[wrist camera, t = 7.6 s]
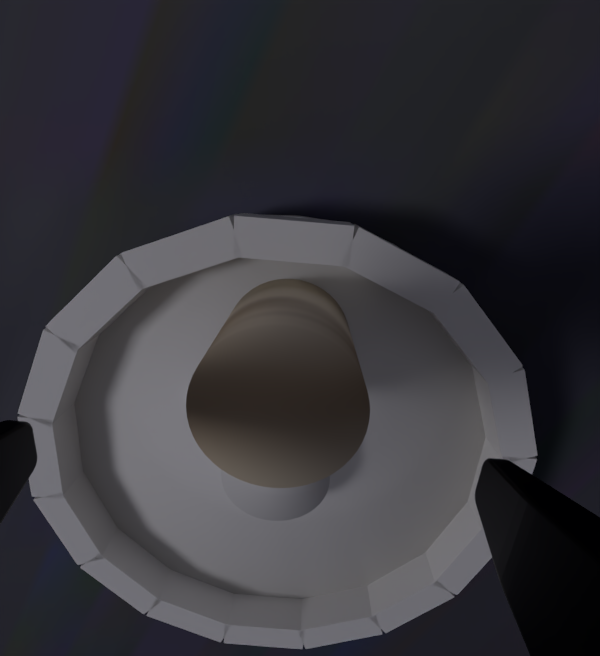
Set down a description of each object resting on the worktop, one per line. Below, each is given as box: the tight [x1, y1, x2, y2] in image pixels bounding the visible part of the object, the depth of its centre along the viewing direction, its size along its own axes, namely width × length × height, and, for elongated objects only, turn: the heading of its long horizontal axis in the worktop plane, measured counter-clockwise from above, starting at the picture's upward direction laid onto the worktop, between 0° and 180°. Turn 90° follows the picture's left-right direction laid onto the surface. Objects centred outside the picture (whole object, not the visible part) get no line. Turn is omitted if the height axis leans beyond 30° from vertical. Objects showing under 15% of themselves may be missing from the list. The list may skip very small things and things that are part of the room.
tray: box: [17, 213, 538, 649], centre depth 16 cm, size 18×18×3 cm
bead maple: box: [186, 279, 370, 488], centre depth 12 cm, size 4×4×5 cm
